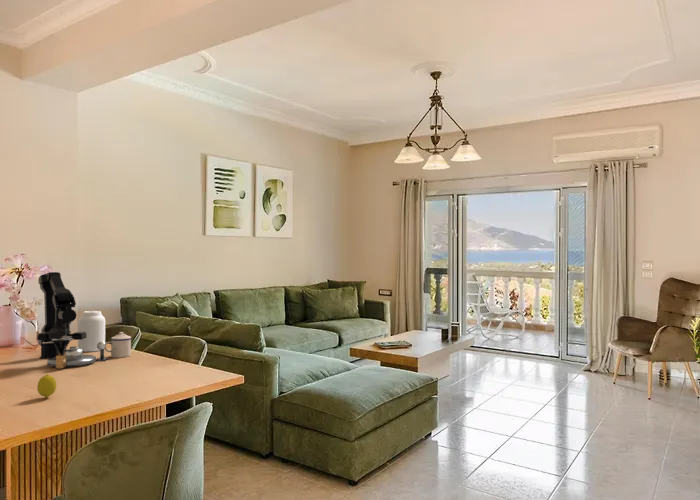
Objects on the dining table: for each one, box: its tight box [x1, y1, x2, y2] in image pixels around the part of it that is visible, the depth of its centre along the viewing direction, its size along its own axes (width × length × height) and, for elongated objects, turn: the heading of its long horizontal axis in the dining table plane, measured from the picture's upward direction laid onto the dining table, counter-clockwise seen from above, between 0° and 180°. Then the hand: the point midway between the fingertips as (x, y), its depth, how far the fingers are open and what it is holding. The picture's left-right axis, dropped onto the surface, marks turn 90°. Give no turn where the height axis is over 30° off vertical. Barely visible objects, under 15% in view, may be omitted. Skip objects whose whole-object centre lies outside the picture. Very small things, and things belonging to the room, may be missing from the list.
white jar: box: [77, 310, 106, 353], centre depth 263 cm, size 12×12×20 cm
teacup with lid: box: [104, 331, 132, 359], centre depth 247 cm, size 12×9×12 cm
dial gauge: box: [95, 342, 109, 362], centre depth 237 cm, size 4×4×9 cm
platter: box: [46, 354, 97, 369], centre depth 227 cm, size 19×22×5 cm
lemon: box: [36, 373, 57, 399], centre depth 173 cm, size 6×6×8 cm
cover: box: [64, 345, 84, 360], centre depth 228 cm, size 7×7×5 cm
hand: (61, 355), depth 228 cm, fingers closed
